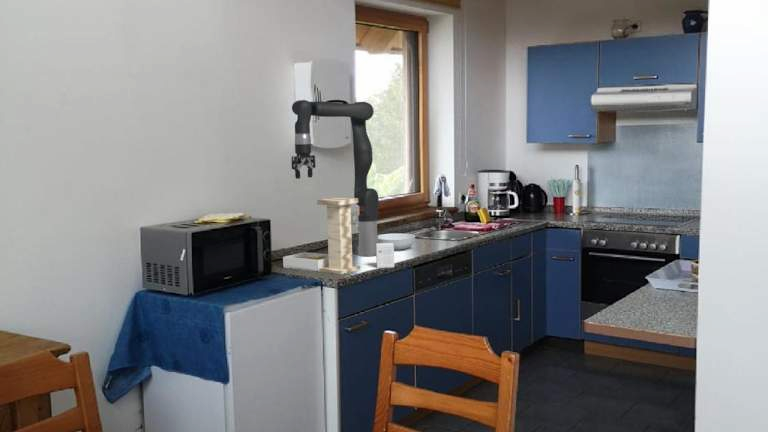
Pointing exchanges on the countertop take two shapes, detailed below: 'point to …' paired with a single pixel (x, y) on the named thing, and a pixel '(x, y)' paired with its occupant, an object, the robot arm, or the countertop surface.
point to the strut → (314, 256)
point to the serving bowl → (397, 240)
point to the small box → (385, 255)
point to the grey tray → (305, 262)
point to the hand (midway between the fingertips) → (304, 177)
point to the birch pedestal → (339, 235)
